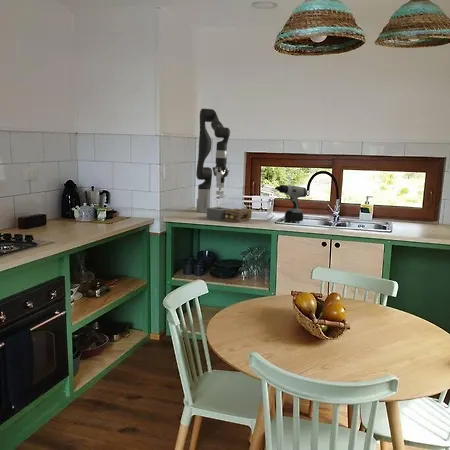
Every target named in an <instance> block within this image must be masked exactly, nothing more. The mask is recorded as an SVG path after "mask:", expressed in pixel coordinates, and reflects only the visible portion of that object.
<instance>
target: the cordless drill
mask: <svg viewBox="0 0 450 450" xmlns="http://www.w3.org/2000/svg"><path fill="white" fill-rule="evenodd" d="M274 189H275V190H277V191H278V192H279V193H282V194H284V195H286V196H289V200H290V201H291V202H292V205H293V207H292V208H290V207H289V208H288V209H287V210H286V211H285V213H284V220H285V221H287V222H303V221H304V214H303V209H300V203H299V201H298V198H306V197H307V194H308V192H307V191H308V190H307V188H306V187H303V186H298V185H297V186H296V185H291V184H290V185H289V184H288V185H287V184H280V185H279V186H275V188H274Z"/></svg>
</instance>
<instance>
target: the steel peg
mask: <svg viewBox="0 0 450 450" xmlns="http://www.w3.org/2000/svg"><path fill="white" fill-rule="evenodd" d="M215 187H216V188H218V190H215V195H217V196H223V195H224V190H222V189H223V188H224V187H225V182H224V183H221V173H220V172H218V173H217V181H216V185H215Z"/></svg>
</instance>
